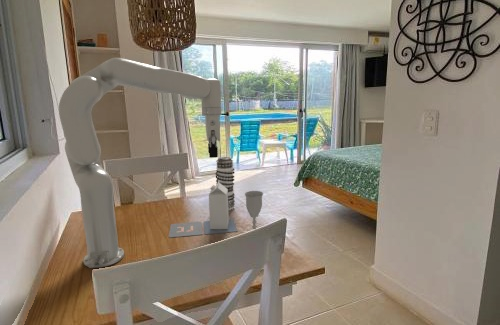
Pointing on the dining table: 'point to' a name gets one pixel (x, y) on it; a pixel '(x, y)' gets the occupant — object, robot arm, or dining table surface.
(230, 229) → the mat
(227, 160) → the decorative candle
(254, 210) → the chalice
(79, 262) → the dining table surface
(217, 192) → the milk carton
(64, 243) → the dining table surface
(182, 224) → the tile
